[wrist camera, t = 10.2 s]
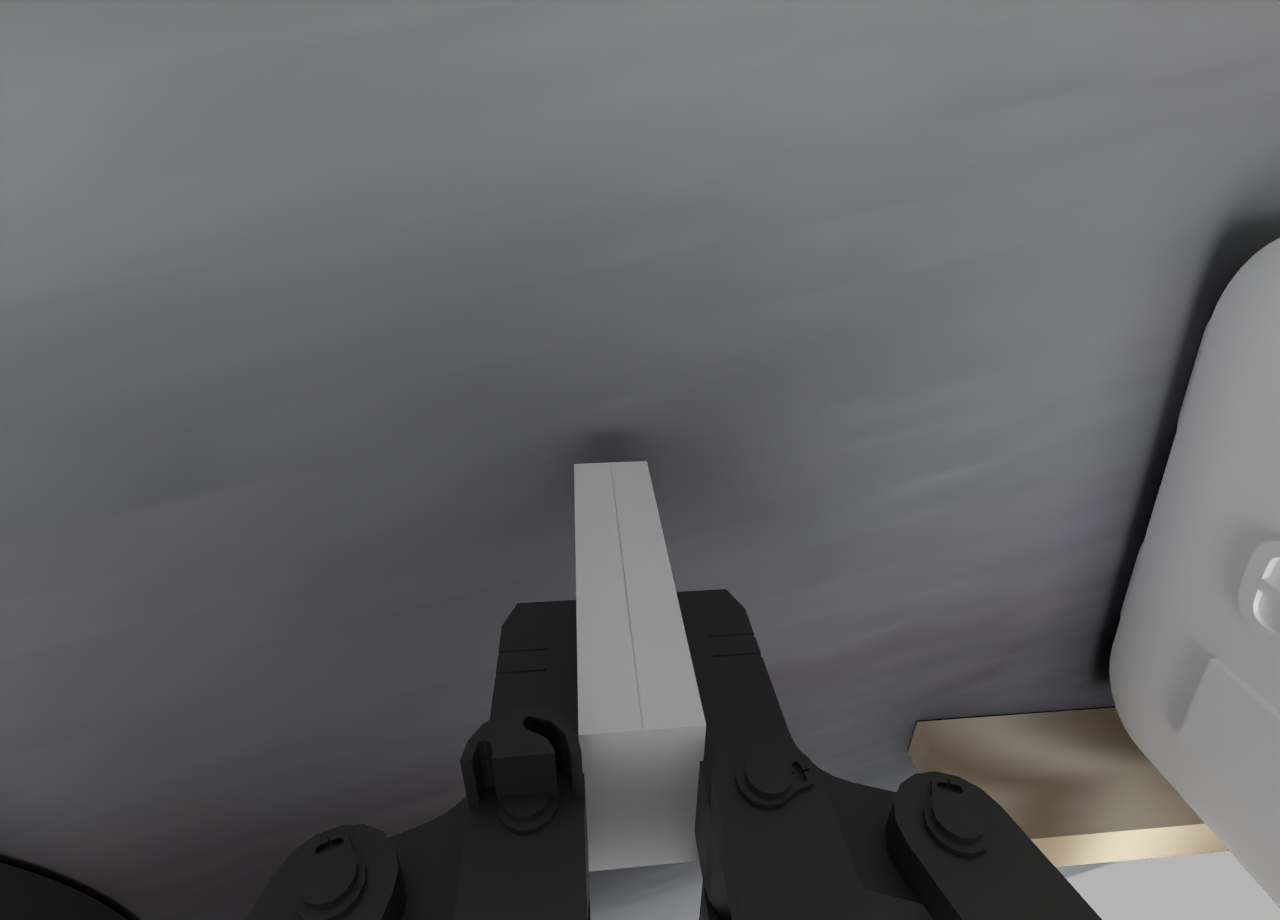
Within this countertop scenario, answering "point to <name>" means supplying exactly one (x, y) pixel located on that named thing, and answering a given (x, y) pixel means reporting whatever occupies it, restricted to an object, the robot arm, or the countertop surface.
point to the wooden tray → (1068, 784)
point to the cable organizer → (1216, 586)
